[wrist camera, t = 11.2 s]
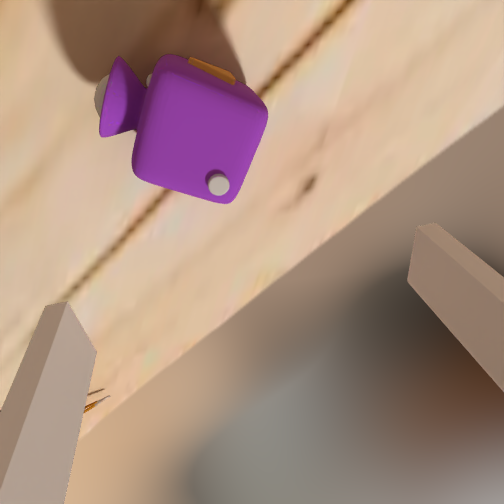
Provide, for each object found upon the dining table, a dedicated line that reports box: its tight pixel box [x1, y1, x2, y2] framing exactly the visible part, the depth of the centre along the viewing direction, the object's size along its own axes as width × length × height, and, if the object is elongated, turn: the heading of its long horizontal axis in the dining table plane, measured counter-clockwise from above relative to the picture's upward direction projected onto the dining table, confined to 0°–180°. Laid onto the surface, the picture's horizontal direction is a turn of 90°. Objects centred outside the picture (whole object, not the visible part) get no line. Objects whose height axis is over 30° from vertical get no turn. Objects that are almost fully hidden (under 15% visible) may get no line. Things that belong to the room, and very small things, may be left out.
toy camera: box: [94, 54, 268, 204], centre depth 31 cm, size 11×14×10 cm
